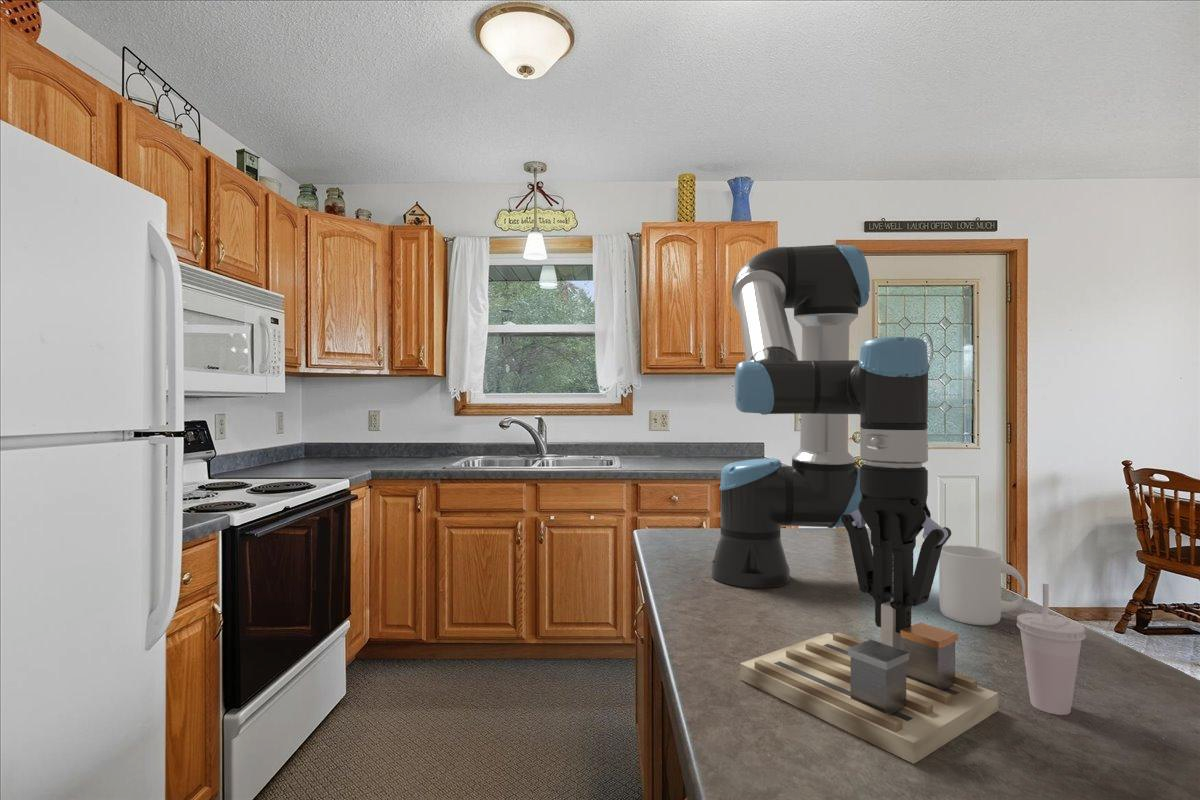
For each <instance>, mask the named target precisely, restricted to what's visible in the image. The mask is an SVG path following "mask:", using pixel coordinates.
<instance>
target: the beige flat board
mask: <svg viewBox="0 0 1200 800" xmlns="http://www.w3.org/2000/svg"><path fill="white" fill-rule="evenodd" d="M863 642H866V641H865V640H862V639H858V638H856V637H854V636H850V635H848V634H844V633H841V632H835V633H833V634H831V633H828V632H826V633H823V634H821V635H817V636H813V637H811V638H809V639H806V640H803V641H800V642H797V643H793V644H791V645H789V646H785V647H783V648H780V649H777V650H774V651H772V652H768V653H766V654H763V655H760V656H757V657H754V658H751V659H748V660H746V661H743V662H740V663H739V680H741V681H742V682H744V683H747V684H749V685H751V686H753V687H755V688H757V689H758V690H762V691H763V692H765V693H767V694H769V695H771V696H774V697H775V698H777V699H779V700H781V701H784V702H786V703H788V704H790V705H792V706H794V707H796V708H798V709H800V710H802V711H804V712H806V713H808V714H809V715H810V714H811V715H812V716H815V717H817V718H818V719H821V720H823V721H825V722H827V723H829V724H830V725H832V726H835V727H837V728H839V729H841V730H844V731H845V732H848V733H849V734H851V735H854V736H856V737H857V738H859V739H862V740H864V741H866V742H868V743H869V744H872V745H874V746H877V747H879V748H880V749H883V750H884V751H886V752H888V753H891V754H893V755H894V756H897V757H899V758H901V759H903V760H905V761H907V762H909V763H911V764H912V765H913V764H917V762H919V761H922V759H924V758H926V757H927V756H928V755H930V754H932V753H933V752H935V751H937V750H939V749H940V748H942V747H943V746H944V745H946V744H948V743H949V742H951V741H952V740H954V739H955V738H957V737H959V736H960V735H963V734H964V733H965V732H967V731H968V730H970V729H972V728H973V727H974V726H976V725H978V724H979V723H981V722H982V721H984V720H985V719H987V718H989V717H991V716H992V715H993V714H995V713H997V712H999V692H996V691H993V690H991V689H988V688H985V687H983V686H980V685H978V680H977V679H975V678H972V677H969V676H966V675H963V674H960V673H958V672H955V684H954V685H952V686H950V687H948V688H946V689H944V690H939V689H936V688H934V687H931V686H928V685H926V684H923V683H920V682H918V681H915V680H912V679H910V678H907V677H906V707H905V708H903V709H901V710H899V711H897V712H895V713H893V714H891V715H888V714H885V713H883V712H881V711H878V710H876V709H874V708H871V707H869V706H867V705H865V704H862V703H860V702H858V701H855V700H853V699H851V657H850V656H848V648H850V647H853V646H855V645H858V644H860V643H863Z"/></svg>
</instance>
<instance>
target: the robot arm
mask: <svg viewBox="0 0 1200 800" xmlns="http://www.w3.org/2000/svg"><path fill="white" fill-rule="evenodd" d="M870 280H871V279H870V271H869V266H868V263H867V258H866V256H865V255H864V253H863V251H862V250H861V249H860V248H859V247H858V246H855V245H848V244H845V245H843V244H836V243H835V244H824V245H803V246H776V247H772V248H767V250H764V251H761V252H759V253H757V254H756V255H754V256H752V258H750V259H749V260H748V261H746V262H745V263H744V264H743V265H742V266H741V267H740V269H739V270H738V272H737V273H736V275H735V277H734V279H733V282H732V285H731V300H732V304H733V306H734V308H735V310H736V311H737V312H738V313H739V317H740V318H739V319H740V324H741V333H742V341H743V349H744V356H745V358H744V359H745V361H744V360H742V361H740V362H738V363H737V364H736V366H735V371H734V372H735V373H734V374H735V375H734V397H735V398H734V399H735V400H734V402H735V407H736V409H737V410H738V411H740V412H741V413H748V414H749V413H750V414H760V415H781V414H782V415H789V414H790V415H793V414H796V415H800V435H799V436H800V438H799V439H800V445H799V449H798V450H797V451H796V452H795V453H794V454H792V457H791V465H790V466H789V465H788V466H787V465H783V463H782V462H781V460H780V459H779V458H773V457H771V458H754V459H746V460H739V461H735V462H731V463H728V464H726V465H725V466H723V468H722V470H721V473H720V485H719V491H720V525H719V526H720V532H719V534H720V536H719V540H718V544H717V546H716V549H715V555H714V559H712V561H711V577H712V578H713V579H715V580H716V581H717V582H720V583H723V584H727V585H731V586H735V587H736V586H737V587H742V588H753V589H756V588H757V589H760V588H761V589H766V588H767V589H768V588H776V587H782V586H784V585H786V584H788V583H789V582H790V580H791V576H790V575H791V574H790V573H791V570H790V569H791V568H790V566H789V564H788V562H787V558H786V554H785V551H784V547H783V544H782V540H781V539H782V538H781V529H782V528H781V527H782V526H786V527H787V526H788V527H809V528H810V527H814V528H815V527H816V528H817V527H819V528H827V529H833V528H845V530H846V531H847V534H848V539H849V543H850V549H851V553H852V558H853V563H854V569H855V572H856V578H857V582H858V586H859V590H860V591H861V593H862V594H868V595H869V596H871V597H872V599H873V600H874V622H875V623H874V624H875V626H876V627H878V628H880V643H883V644H886V645H889V646H892V647H894V648H897V649H900V650H903V637H900V630H902V629H904V628H907V627H910V626H912V607H918V606H920V605H923V604H927V602H928V601H929V599H930V596H931V591H932V588H933V584H934V579H935V575H936V572H937V568H938V566H939V557H940V554H941V550H942V546H945V544H946V543H947V542H948V541H949V539H950V538H951V536H952V531H951V529H950V528H949V527H947V526H944V527H942V526H940V525H939V524H938V523H937V522H935V521H934V520H933V519H932V518H931V515H932V514H931V511H930V509H929V506H928V504H927V499H928V494H929V491H928V490H929V489H928V488H929V486H928V485H929V480H928V478H929V477H928V476H929V472H928V469H927V467H926V466H923V464H926V463H927V462H928V461H929V448H928V447H929V446H928V445H929V444H928V442H929V439H928V437H929V436H928V435H929V434H928V428H929V427H928V422H929V419H928V417H929V416H928V415H929V414H928V413H929V411H928V410H929V409H928V408H929V402H928V401H929V372H930V368H931V367H930V364H929V357H928V345H927V342H926V341H924V339H922V338H920V337H915V336H914V337H913V336H889V337H888V336H887V337H875V338H869V339H866V340H864V342H862V343H861V346H860V353H859V360H857V359H856V360H853V359H852V360H850V359H849V358H850V357H849V356H850V326H851V324H852V323H853V322H854V321H855V320H856V319H857V318H858V317H859V309H861V308H863V307H865V306H866V305H867V304H868V302H869V298H870V293H869V292H870V290H871V283H870V282H871V281H870ZM786 309H793V318H794V320H796V322H797V323H798V324H799V325H800V326H801V360H799V358H798V354H797V351H796V347H795V343H794V339H793V336H792V332H791V329H790V324H789V320H788V316H787V312H786ZM849 415H859V416H860V423H859V424H860V427H859V428H860V430H859V431H860V432H859V436H860V437H859V438H860V439H859V441H860V442H859V443H860V444H859V445H860V446H859V447H860V448H859V449H860V450H859V451H860V453H859V455H860V456H859V457H860V459H861V460H862V461H863V462H865V463H864V464H862V465H861V466H860V467H858V466H856V458H855V457H854V456H853V455H852V454H851V453H850V452H849V450H848V420H849V419H848V417H849ZM866 525H867V526H866ZM867 527H868V529H869V530H870V537H869V532H868V529H867ZM922 530H923V533H922V538H923V539H924V540H923V542H922V543H921V545H920V550H919V554H918V558H917V562H916V565H915V569H914V549H915V548H916V545H917V544H916V542H917V541H916V540H917V539H916V538H917V537H918V535H919V534H920V533H921V532H922ZM891 599H892V600H891Z"/></svg>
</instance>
